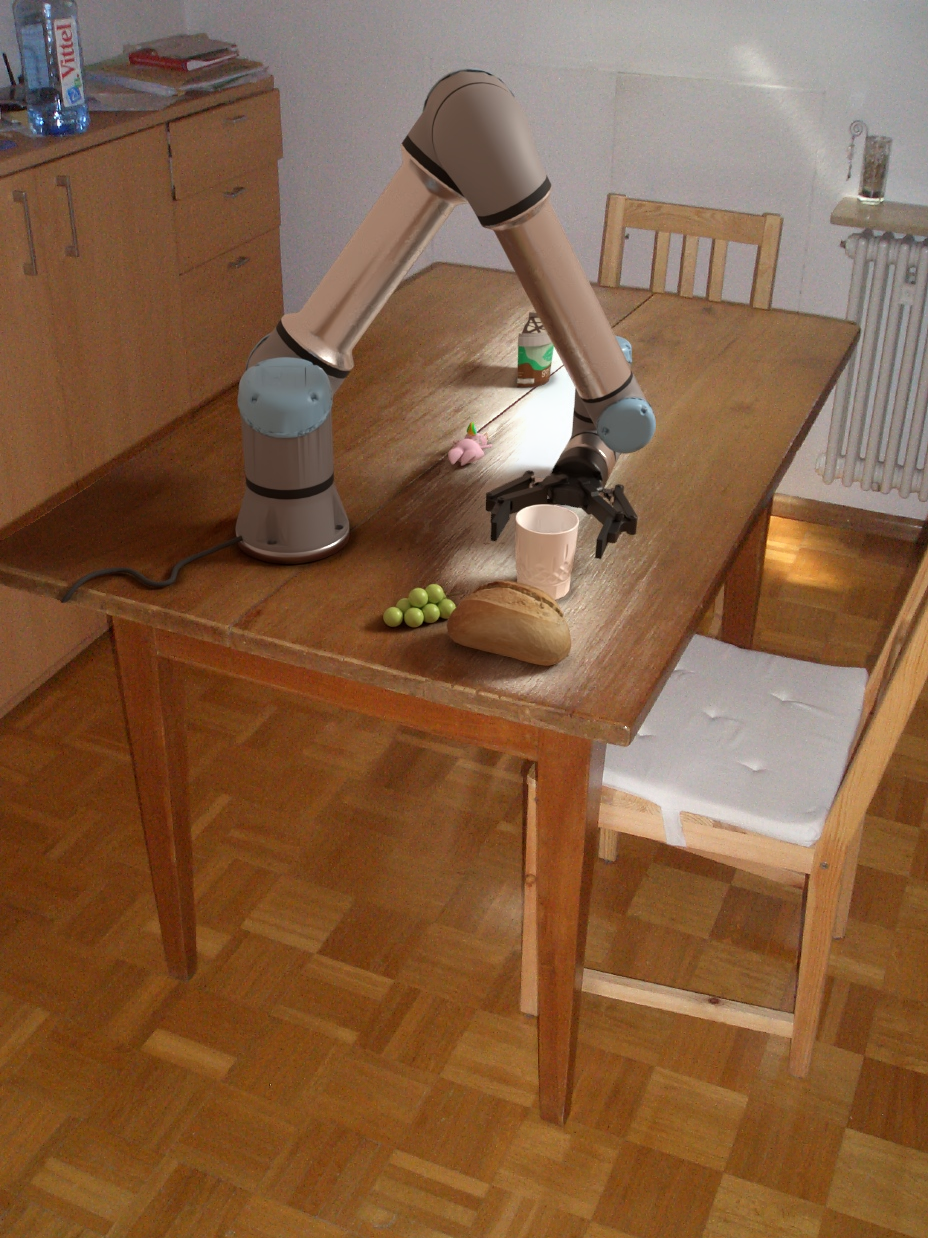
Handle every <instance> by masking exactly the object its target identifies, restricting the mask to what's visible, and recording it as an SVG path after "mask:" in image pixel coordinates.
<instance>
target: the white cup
mask: <svg viewBox="0 0 928 1238" xmlns="http://www.w3.org/2000/svg"><path fill="white" fill-rule="evenodd" d="M514 519H515V520H514V522H515V523H514V524H515V527H514V528H515V536H514V537H515V539H514V541H515V569H516V582H519V583H523V584H527V585H530V586H533V587H536V588H538V589H540V590H542V591H544V592H546V593H547V594H549V595H550V596H551V597H552V598H553V599H554V600H555V601H557V600H559V599H561V598H563V597H566V595H567V594H568V593H569V591H570V586H571V579H572V572H573V569H574V561H575V556H576V549H577V542H578V534H579V532H578V531H579V527H580V526H579V525H580V518H579V516H578V514H577V513H575V512H573V511H572V510H570V509H569V508H566V507H564V506H561V505H533V506H529V507H526V508H524V509H522V510H520V511H519V512H517V513H515V518H514Z"/></svg>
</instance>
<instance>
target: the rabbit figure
mask: <svg viewBox="0 0 928 1238" xmlns="http://www.w3.org/2000/svg"><path fill="white" fill-rule="evenodd" d="M489 441H490V440H489V437H488V431H486V432H485V433H484V434H483V433H479V432H478V431H477V429H476V426H475V422H474V421H470V423H469V424H468V426H467V427H466V434H465V435H464V438H462V439H460V440H459V441H458V440H457V439H453V440H452V443H453V444H454V446H452V448H451V449H450V450H449V451H448V453H447V457H448V460H449V462H450V464H451V465H454V464H455V463H456V462H459V463H460V466H465V465H468V464H470V463H473V462H474V463H475V462H477V461H479V460H481V459H483V457H484V456H485V453H484V451H483V450H484V449H491V448H493V444H492V443H489V444H488V442H489Z"/></svg>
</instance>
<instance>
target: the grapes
mask: <svg viewBox="0 0 928 1238" xmlns="http://www.w3.org/2000/svg"><path fill="white" fill-rule="evenodd" d="M464 594H466V590H465V589H459V590H456V591H453V592H448V593H447V594H445V592H444V589H443V588H442V587H441V586H440V585H439V584H437V583H431V584H428V585H427V586H426V587H425V589H424V588H421V587H415V588H413V589H412V590H411V591H410V592H409V593H408V598H407V597H404V598H401V599H399V600H398V601H396V604H395V606H392V607H391V606H390V607H388V608H387V609H385V611H384V613H383V616H382V619H383V621H384V623H385V625H387V626H389V627H390V628H391V627H392V628H395V627H398V626H400V625H401V624H402V622H403V620H404V622H405V624H406V625H407V626H408V627H411V628H417V627H420V626H421V625H422V624H423V622H425V623H427V624H432V623H436V622H437V620H439V618H442V619H445V620H448V619H449V617H450V615H451V613H452V611H453V610H454V609H455V608H456V607H457V606H456V604H455V602H454V601H453V600H451V599H449V598H453V597H457V596H460V595H464Z"/></svg>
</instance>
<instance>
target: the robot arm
mask: <svg viewBox="0 0 928 1238" xmlns="http://www.w3.org/2000/svg"><path fill="white" fill-rule="evenodd" d="M530 126H531V125H530V123H529V120H528V117H527V114H526V112H525V111H524V108H523V107H522V105H521V104H520V102H519V101H518V100H517V98H516V97H515V94H514V92H513V91H512V89H511V88H510V86H508V85H507V84H506V83H505V82H504V81H503V79H502V78H500V77H498V76H496V74H493V73H492V72H491V71H487V70H484V69H481V68H478V67H462V68H458V69H453V70H451V71H450V72H447V73H446V74H444V75H443V76H441V77H440V78H439V79H438V80H437V81H436V82H435V83H434V84H433V86H432V87H431V88H430V89H429V92H427V95H426V98H425V99H424V103H423V107H422V113H421V114H420V115H419V117H418V118H417V120H416V121H415V122H414V124H413V126H412V127H411V128H410V129H409V131H408V133H407V135H406V136H405V138H404V139H403V141H402V142H401V144H400V151H401V157H402V162H401V165H400V166H399V168H397V170H396V172H395V174H394V175H393V177H392V178H391V179H390V181H389V182H388V184H387V185H386V187H385V189H383V191H382V192H381V194H380V195H379V197H378V198H377V200H376V201H375V202H374V204H373V205H372V207H371V208H370V210H369V211H368V213H367V214H366V215H365V217H364V218H363V220H362V222H361V223H360V224H359V226H358V227H357V229H355V232H354V233H353V234H352V236H351V237H350V239H349V240H348V242H347V243H346V244H345V246H344V247H343V249H342V250H341V252H340V253H339V254H338V256H337V257H336V259H335V260H334V262H333V263H332V265H331V266H330V268H329V269H328V271H327V272H326V273H325V274H324V276H323V278H322V279H321V281H320V282H319V283H318V285H317V286H316V288H315V289H314V290H313V292H312V294H311V295H310V297H309V298H308V299H307V301H306V302H305V304H304V305H303V307H302V308H301V309H300V311H296V312H290V313H285V314H284V315H282V317H281V318H280V319H279V321H278V323H277V324H276V325H275V327H274V328H273V329H272V331H271V332H270V333H268V334H266V335H265V336H263V337H262V338H261V339H260V340H259V341H258V342H257V343H256V345H255V346H254V347H253V349H252V350H251V352H250V354H249V355H248V358H247V361H246V363H245V371H244V372H243V374H242V375H241V378H240V380H239V384H238V392H237V393H238V394H237V406H238V411H239V412H240V427H241V440H242V451H243V462H244V464H243V465H244V475H245V490H244V494H243V497H242V501H241V504H240V508H239V512H238V516H237V519H236V524H235V537H233V538H231V539H229V540H227V541H224V542H222V543H219V544H217V545H215V546H212V547H210V548H208V549H205V550H202V551H199V552H197V553H194V554H192V555H189V556H187V557H185V558H183V559H182V560H180V561H178V562H177V563H176V564H175V565H174V566H173V568H172V570H171V573H170V577H169V578H168V579H166V580H161V581H155V580H151V579H150V578H148V577H146V576H145V575H143V574H142V573H141V572H140V571H137V570H136V569H134V568H131V567H126V566H124V567H110V568H104V569H99V570H95V571H92V572H89V573H87V574H85V575H83V576H82V577H80V578H79V579H78V580H76V582H75V583H73V584H72V585H71V587H69V589H68V590H67V592H65V594H64V595H63V596H62V598H61V600H60V604H65V603H67V602H69V600H70V599H71V597H72V596H73V595H74V594H75V593H76V592H77V590H79V588H80V587H81V586H83V585H84V584H86V582H88V581H89V580H91V579H94V578H97V577H100V576H105V575H109V574H110V575H112V574H121V573H123V574H129V575H132V576H133V577H135V578H137V579H138V580H139V581H140V582H141V583H143V584H145V585H147V586H149V587H152V588H164V587H168V586H171V585H173V584H174V583H175V582H176V579H177V576H178V573H179V570H180V569H181V568H183V567H184V566H186V565H187V564H190V563H192V562H194V561H196V560H199V559H202V558H205V557H207V556H210V555H212V554H214V553H216V552H220V551H221V550H224V549H226V548H229V547H231V546H234V545H235V544H237V546H238V548H239V549H240V550H241V551H242V552H243V553H244V554H246V555H248V556H250V557H252V558H254V559H256V560H260V561H261V562H262V561H263V562H267V563H273V564H283V565H294V564H295V565H296V564H307V563H311V562H316V561H319V560H323V559H326V558H328V557H331V556H332V555H335V554H336V553H338V552H339V551H342V549H343V548H344V547H345V546H346V545H347V544H348V542H349V540H350V536H351V535H350V532H351V531H350V530H351V529H350V520H349V517H348V514H347V512H346V510H345V507H344V505H343V502H342V499H341V497H340V494H339V492H338V489H337V487H336V485H335V466H334V465H335V464H334V440H333V439H334V437H333V436H334V435H333V413H332V412H333V410H332V408H333V403H334V401H333V399H334V398H333V397H334V395H335V394H336V392H337V391H338V390H339V389H340V387H341V386H342V384H343V383H344V381H345V380H346V379H347V377H348V376H349V374H350V373H351V372H352V371H353V369H354V368H355V361H354V356H353V349H354V348H355V347H356V345H357V344H358V343H359V341H360V340H361V339H362V337H363V336H364V334H365V333H366V332H367V330H368V329H369V328H370V326H371V325H372V324H373V322H374V320H375V319H376V318H377V316H378V315H379V314H380V312H381V311H382V309H383V308H384V307H385V306H386V304H387V302H388V301H389V300H390V298H391V297H392V296H393V294H394V293H395V291H396V290H397V289H398V287H399V286H400V285H401V283H402V282H403V280H404V279H405V278H406V276H407V275H408V273H409V272H410V271H411V269H412V268H413V266H414V265H415V264H416V263H417V261H418V259H419V258H420V257H421V255H422V254H423V253H424V251H425V250H426V249H427V247H428V245H429V244H430V243H431V241H432V240H433V239H434V237H435V236H436V235H437V233H438V232H439V230H440V229H441V227H442V226H443V225H444V224H445V223H446V221H447V220H448V218H449V216H450V215H451V213H452V212H453V211H454V209H455V208H456V207H457V206H460V205H467V204H469V206H470V207H471V209H472V211H473V212H474V215H475V216H476V218H477V220H478V222H479V224H480V225H481V227H482V228H484V229H488V230H490V231H491V230H492V231H493V232H494V235H495V236H496V238H497V241H498V242H499V244H500V246H501V247H502V250H503V252H504V253H505V255H506V257H507V259H508V261H509V263H510V265H511V267H512V269H513V271H514V273H515V274H516V276H517V278H518V280H519V282H520V284H521V286H522V287H523V290H524V292H525V295H526V296H527V298H528V299H529V302H530V303H531V305H532V307H533V309H534V311H535V313H537V315H538V317H539V319H540V321H541V323H542V324H543V326H544V328H545V330H546V332H547V334H548V336H549V338H550V340H551V342H552V344H553V346H554V349H555V351H556V353H557V355H558V357H559V358H560V361H561V363H562V365H563V367H564V368H565V371H566V372H567V374H568V376H569V378H570V380H571V382H572V384H573V386H574V389H575V390H574V402H573V403H574V404H573V414H572V428H571V436H570V438H569V440H568V441H567V443H566V445H565V447H564V449H563V450H562V451H561V453H560V455H559V457H558V459H557V460H556V462H555V464H554V466H553V467H552V468H551V469H552V470H551V471H550V474H549V475H547V476H545V477H543V478H542V477H537V476H535V471H533V470H526V471H525V472H524V473H523V474H522V475H521V476H519V477H517V478H515V479H513V480H511V481H509V482H506V483H504V484H502V485H500V486H498V487H496V488H493V489H491V490H489V491H487V492H486V493H485V512H487V513H490V520H489V521H490V542H494V543H496V542H497V541H498V540H499V538H500V536H501V535H502V533H503V531H504V530H505V528H506V526H507V524H508V523H509V521H510V519H511V515H513V514H517V513H518V512H519V511H520V510H522V509H524V508H526V507H529V506H533V505H556V506H566V507H570V508H575V509H581V510H583V512H584V513H586V515H588V516H591V515H592V517H594V518H595V520H597V521H598V522H599V523H600V524H601V525H602V527H601V529H600V531H599V533H598V536H597V538H596V544H595V553H594V554H595V556H594V558H595V559H599V560H602V557H603V556H604V553H605V551H606V549H607V546H608V544H616V543H618V540H619V538H620V535H621V534H622V533H626V534H627V535H629V536H635V535H636V534H637V527H638V514H637V513H636V511H635V510H634V507H633V506H632V504H631V502H630V501H629V499H628V498H627V496H626V494H625V493H624V492H625V485H623V484H619V483H618V484H615V485H614V487H612V488H611V487H610V488H606V485H607V483H608V481H609V479H610V477H611V474H612V473H613V471H614V469H615V466H616V464H617V463H618V460H619V458H620V456H621V455H623V454H624V455H626V454H632V453H636V452H638V451H640V450H641V449H643V448H645V447H646V446H647V445H648V444H649V443H650V442H651V441H652V439H653V437H654V435H655V432H656V429H657V422H656V416H655V413H654V410H653V408H652V406H651V404H650V403H649V401H648V400H647V398H646V397H645V396H646V395H644V392H643V391H642V388H641V386H640V384H639V382H638V379H637V378H636V376H635V374H634V372H633V371H632V368H631V367H632V363H633V359H632V354H633V353H632V352H633V351H632V344H631V342H629V340H627V339H626V338H624V337H622V336H619V335H615V333H614V330H613V328H612V327H611V324H610V322H609V320H608V318H607V316H606V314H605V312H604V310H603V307H602V305H601V304H600V301H599V299H598V298H597V294H596V293H595V291H594V289H593V287H592V285H591V283H590V281H589V279H588V276H587V275H586V273H585V270H584V269H583V267H582V264H581V262H580V261H579V257H578V256H577V254H576V252H575V250H574V248H573V246H572V243H571V242H570V240H569V237H568V235H567V234H566V232H565V230H564V227H563V225H562V223H561V221H560V219H559V216H558V215H557V212H556V211H555V209H554V206H553V204H552V203H551V200H550V197H551V194H552V191H553V184H552V183H551V181H550V179H549V177H548V174H547V172H546V170H545V168H544V165H543V162H542V160H541V157H540V154H539V152H538V149H537V146H536V142H535V140H534V139H535V138H534V135H533V132H532V130H531V127H530Z"/></svg>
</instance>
